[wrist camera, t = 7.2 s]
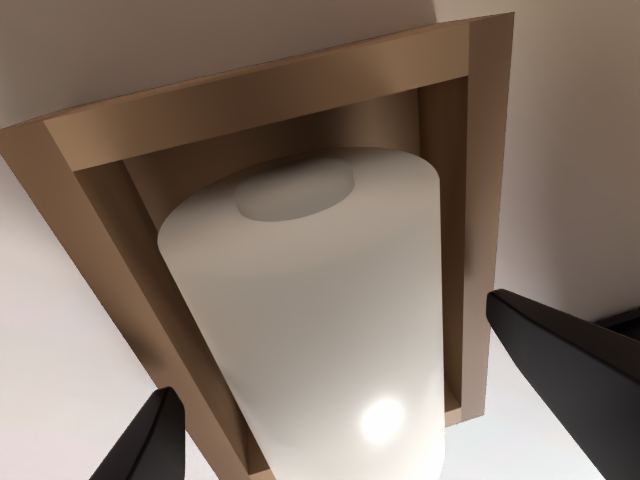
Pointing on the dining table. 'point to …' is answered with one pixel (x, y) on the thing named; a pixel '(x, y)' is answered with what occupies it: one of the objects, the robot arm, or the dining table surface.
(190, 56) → the dining table surface
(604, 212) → the dining table surface
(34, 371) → the dining table surface
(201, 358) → the walnut cradle
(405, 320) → the paper roll
